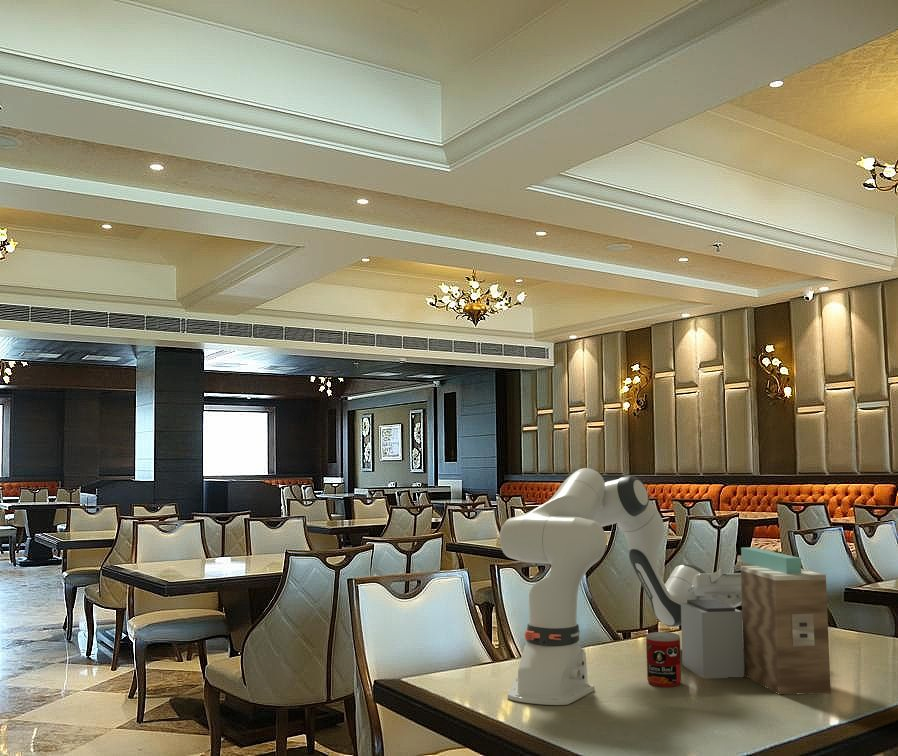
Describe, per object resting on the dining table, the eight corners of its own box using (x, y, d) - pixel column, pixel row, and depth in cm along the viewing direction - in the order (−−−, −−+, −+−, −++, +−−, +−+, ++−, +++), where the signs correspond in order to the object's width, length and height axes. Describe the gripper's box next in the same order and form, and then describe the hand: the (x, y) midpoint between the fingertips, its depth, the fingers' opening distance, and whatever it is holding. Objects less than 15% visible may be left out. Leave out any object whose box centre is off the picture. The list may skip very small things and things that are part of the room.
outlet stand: (744, 675, 215) (740, 566, 217) (791, 673, 216) (787, 565, 218) (780, 695, 197) (776, 576, 199) (832, 693, 198) (827, 575, 200)
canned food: (643, 685, 206) (642, 636, 207) (652, 677, 213) (651, 630, 214) (676, 689, 203) (675, 639, 204) (684, 681, 210) (683, 633, 211)
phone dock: (682, 665, 226) (680, 599, 227) (720, 664, 227) (718, 598, 228) (703, 678, 212) (701, 609, 213) (744, 677, 213) (741, 608, 214)
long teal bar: (741, 561, 226) (741, 547, 227) (754, 561, 227) (754, 547, 227) (786, 573, 203) (786, 558, 203) (801, 573, 203) (800, 558, 203)
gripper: (683, 581, 243) (699, 560, 232) (755, 580, 245) (774, 559, 234) (688, 604, 239) (704, 583, 228) (761, 602, 241) (780, 582, 230)
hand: (740, 571), depth 231 cm, fingers open, 8 cm apart
